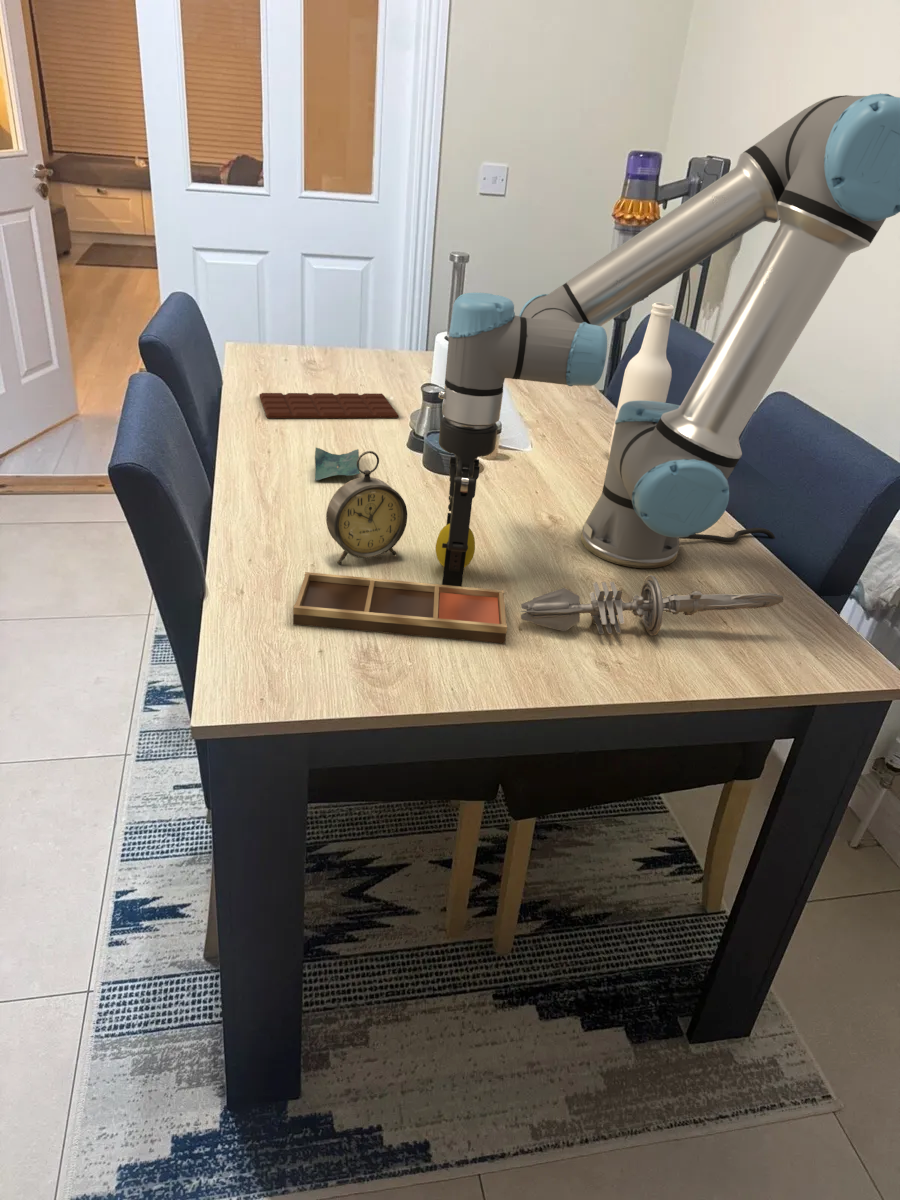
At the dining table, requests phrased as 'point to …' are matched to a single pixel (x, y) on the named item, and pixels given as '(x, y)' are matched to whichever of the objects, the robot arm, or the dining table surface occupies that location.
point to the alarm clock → (366, 516)
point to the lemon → (444, 538)
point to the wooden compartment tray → (401, 607)
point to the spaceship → (632, 606)
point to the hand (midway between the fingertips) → (451, 570)
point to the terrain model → (335, 464)
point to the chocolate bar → (327, 405)
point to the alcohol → (649, 363)
